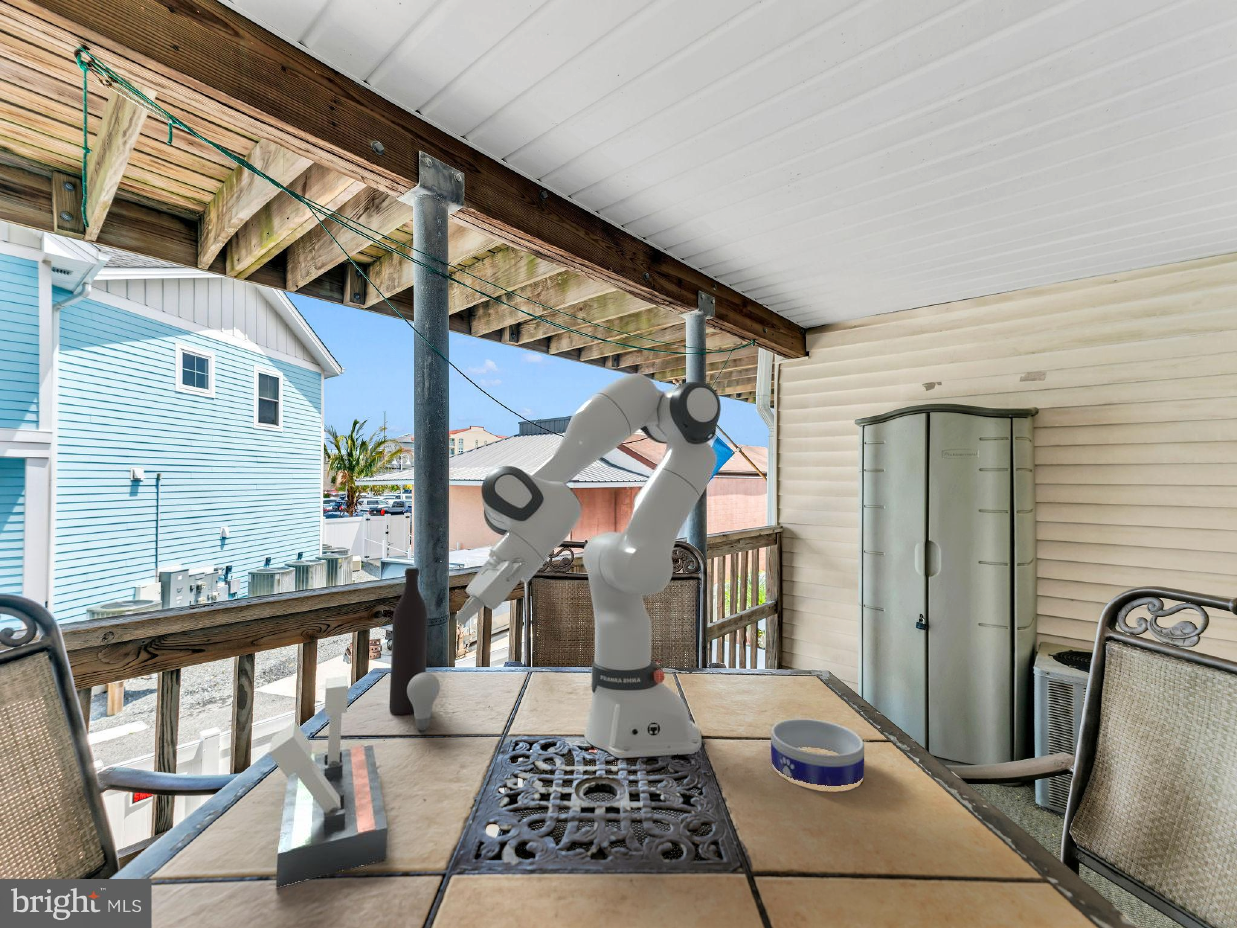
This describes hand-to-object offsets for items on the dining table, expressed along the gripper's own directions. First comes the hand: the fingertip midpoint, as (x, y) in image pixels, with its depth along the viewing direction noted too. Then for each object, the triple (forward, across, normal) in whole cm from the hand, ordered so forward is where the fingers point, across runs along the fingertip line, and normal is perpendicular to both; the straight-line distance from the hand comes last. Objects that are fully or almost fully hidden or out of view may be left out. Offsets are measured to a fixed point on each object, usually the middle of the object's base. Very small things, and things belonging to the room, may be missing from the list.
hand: (458, 621), depth 96 cm
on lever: (+27, -12, -2) cm, 30 cm away
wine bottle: (+20, +34, -9) cm, 41 cm away
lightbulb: (+20, +22, -12) cm, 32 cm away
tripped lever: (+27, +1, 0) cm, 27 cm away
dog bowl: (-20, -16, -62) cm, 67 cm away
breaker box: (+31, -5, -5) cm, 31 cm away
